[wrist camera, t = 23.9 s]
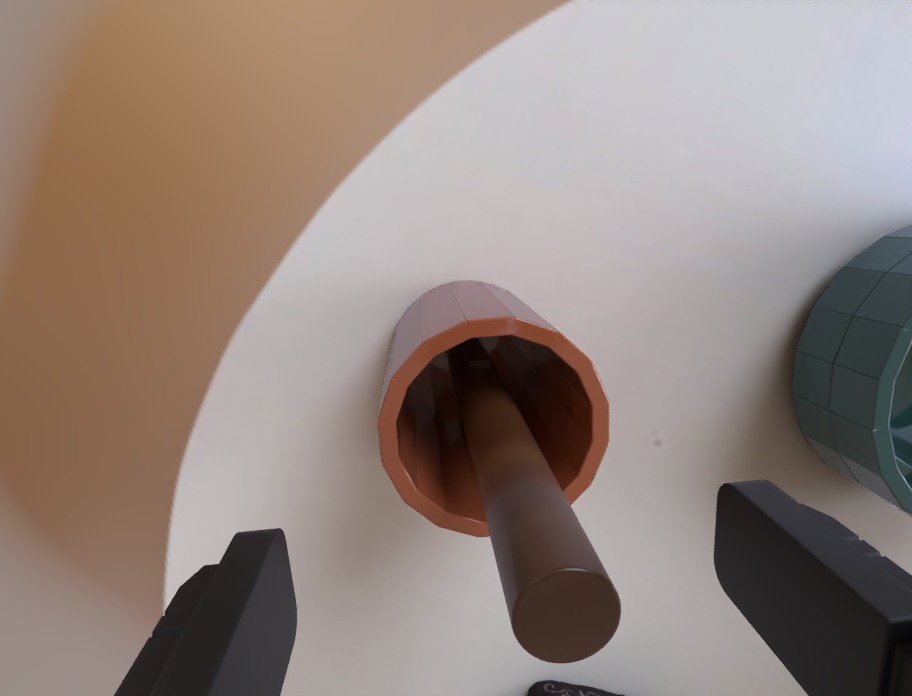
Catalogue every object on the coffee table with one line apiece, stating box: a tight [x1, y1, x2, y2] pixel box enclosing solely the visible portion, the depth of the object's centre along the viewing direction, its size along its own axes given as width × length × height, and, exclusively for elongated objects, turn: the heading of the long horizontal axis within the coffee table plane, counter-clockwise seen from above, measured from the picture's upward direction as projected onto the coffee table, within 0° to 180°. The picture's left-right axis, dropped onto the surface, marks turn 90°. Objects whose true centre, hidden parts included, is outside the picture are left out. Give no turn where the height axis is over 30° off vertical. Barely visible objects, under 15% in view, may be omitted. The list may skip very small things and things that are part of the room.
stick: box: [448, 338, 621, 663], centre depth 19 cm, size 3×2×18 cm
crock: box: [377, 281, 609, 537], centre depth 23 cm, size 8×8×10 cm
